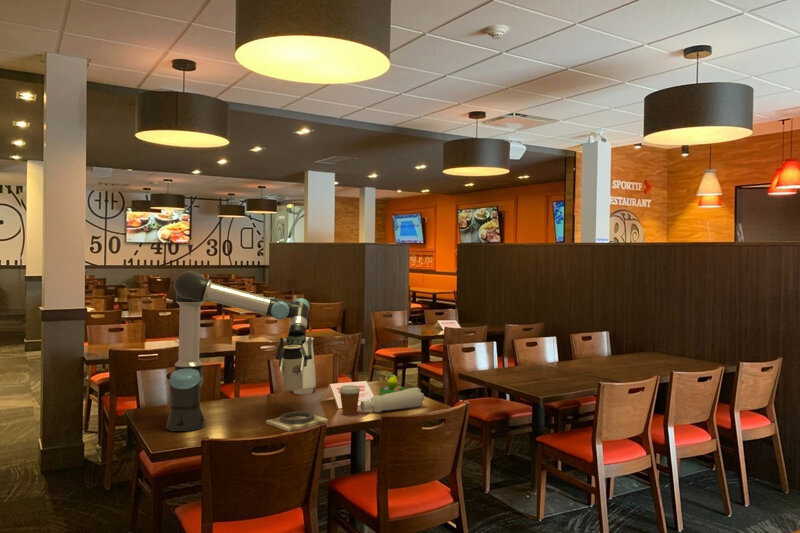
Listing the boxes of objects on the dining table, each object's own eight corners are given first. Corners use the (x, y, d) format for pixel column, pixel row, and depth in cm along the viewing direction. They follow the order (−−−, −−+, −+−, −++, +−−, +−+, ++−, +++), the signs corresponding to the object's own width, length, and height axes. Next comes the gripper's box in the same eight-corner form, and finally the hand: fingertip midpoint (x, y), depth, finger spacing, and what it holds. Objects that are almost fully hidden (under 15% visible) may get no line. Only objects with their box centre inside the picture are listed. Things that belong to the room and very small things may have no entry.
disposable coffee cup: (352, 417, 269) (351, 390, 269) (334, 414, 274) (334, 388, 274) (364, 413, 277) (364, 386, 277) (347, 410, 282) (347, 384, 282)
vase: (285, 393, 315) (285, 339, 314) (299, 388, 327) (298, 336, 326) (307, 396, 310) (307, 340, 309) (320, 390, 322) (320, 337, 321)
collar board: (288, 431, 249) (288, 424, 249) (266, 423, 261) (265, 416, 261) (328, 422, 263) (327, 415, 263) (304, 414, 275) (304, 407, 275)
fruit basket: (379, 399, 302) (378, 377, 302) (383, 395, 311) (383, 373, 310) (401, 401, 300) (401, 377, 299) (405, 396, 308) (405, 374, 308)
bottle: (414, 396, 295) (356, 405, 281) (418, 382, 290) (360, 391, 276) (422, 410, 288) (364, 420, 274) (427, 396, 284) (368, 406, 270)
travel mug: (282, 387, 262) (281, 345, 262) (300, 385, 265) (299, 344, 265) (286, 391, 255) (285, 348, 254) (304, 389, 258) (303, 346, 257)
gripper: (322, 333, 275) (317, 376, 259) (276, 334, 275) (268, 377, 260) (320, 323, 269) (315, 366, 254) (273, 324, 270) (265, 367, 254)
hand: (291, 372), depth 257 cm, fingers closed on travel mug, 8 cm apart
